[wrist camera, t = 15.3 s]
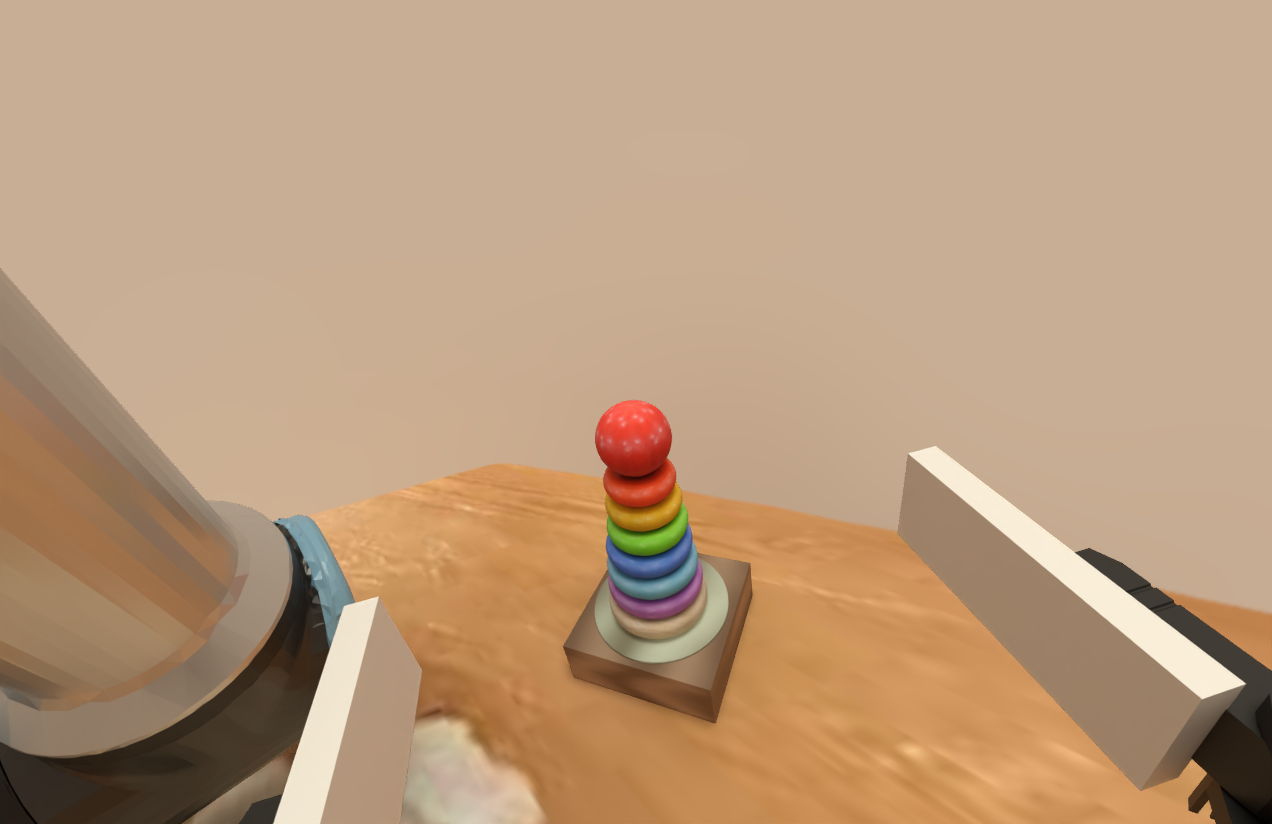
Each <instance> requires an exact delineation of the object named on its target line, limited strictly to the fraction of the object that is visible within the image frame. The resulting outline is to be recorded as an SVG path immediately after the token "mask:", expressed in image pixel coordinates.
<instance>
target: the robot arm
mask: <svg viewBox="0 0 1272 824" xmlns="http://www.w3.org/2000/svg"><path fill="white" fill-rule="evenodd" d="M898 535H899V536H900V537H901V538H902V539H903V540H904V541H905V542H906V543H907V544H908V545H909V546H910V547H911V548H912V550H913V551H914V552H915V553H916V554H917V555H918V556H919V557H920V558H921V559H922V560H923V561H924V562H925V563H926V564H927V565H928V566H929V568H930V569H931V570H932V571H933V572H934V573H935V574H936V575H937V576H938V577H939V578H940V579H941V580H942V581H943V582H944V583H945V585H946V586H947V587H948V588H949V589H950V590H951V591H952V592H953V593H954V594H955V595H956V596H957V597H958V598H959V599H960V600H961V602H962V603H963V604H964V605H965V606H966V607H967V608H968V609H969V610H970V611H971V612H972V613H973V614H974V615H975V616H976V617H977V618H978V620H979V621H980V622H981V623H982V624H983V625H984V626H985V627H986V628H987V629H988V630H989V631H990V632H991V633H992V634H993V635H994V637H995V638H996V639H997V640H998V641H999V642H1000V643H1001V644H1002V645H1003V646H1004V647H1005V648H1006V649H1007V650H1008V651H1009V652H1010V653H1011V655H1012V656H1013V657H1014V658H1015V659H1016V660H1017V661H1018V662H1019V663H1020V664H1021V665H1022V666H1023V667H1024V668H1025V669H1026V670H1027V672H1028V673H1029V674H1030V675H1031V676H1032V677H1033V678H1034V679H1035V680H1036V681H1037V682H1038V683H1039V684H1040V685H1041V686H1042V687H1043V689H1044V690H1045V691H1046V692H1047V693H1048V694H1049V695H1050V696H1051V697H1052V698H1053V699H1054V700H1055V701H1056V702H1057V703H1058V704H1059V705H1060V707H1061V708H1062V709H1063V710H1064V711H1065V712H1066V713H1067V714H1068V715H1069V716H1070V717H1071V718H1072V719H1073V720H1074V721H1075V722H1076V724H1077V725H1078V726H1079V727H1080V728H1081V729H1082V730H1083V731H1084V732H1085V733H1086V734H1087V735H1088V736H1089V737H1090V738H1091V739H1092V740H1093V742H1094V743H1095V744H1096V745H1097V746H1098V747H1099V748H1100V749H1101V750H1102V751H1103V752H1104V753H1105V754H1106V755H1107V756H1108V757H1109V759H1110V760H1111V761H1112V762H1113V763H1114V764H1115V765H1116V766H1117V767H1118V768H1119V769H1120V770H1121V771H1122V772H1123V773H1124V774H1125V775H1126V777H1127V778H1128V779H1129V780H1130V781H1131V782H1132V783H1133V784H1134V785H1135V786H1136V787H1137V788H1138V789H1139V790H1140V791H1142V790H1145V789H1147V788H1150V787H1153V786H1156V785H1158V784H1161V783H1164V782H1167V781H1169V780H1172V779H1175V778H1178V777H1179V776H1180V774H1181V773H1182V771H1183V770H1184V769H1185V767H1186V766H1187V765H1188V763H1189V762H1190V760H1191V759H1193V760H1194V761H1195V762H1196V763H1197V764H1198V765H1199V766H1200V767H1201V768H1203V769H1204V770H1205V771H1206V772H1207V775H1206V776H1205V777H1204V778H1203V780H1202V781H1201V782H1200V784H1199V785H1198V786H1197V787H1196V789H1195V790H1194V791H1193V793H1192V794H1191V795H1190V796H1189V798H1188V803H1189V811H1191V812H1194V813H1198V812H1199V811H1200V810H1201V809H1202V807H1203V806H1204V805H1205V804H1206V802H1207V801H1208V800H1209V802H1210V805H1211V809H1212V812H1211V814H1210V818H1211V819H1214V820H1215V822H1216V824H1272V671H1271V670H1270V669H1268V668H1267V667H1265V666H1264V665H1263V664H1261V663H1260V662H1258V661H1257V660H1256V659H1254V658H1253V657H1251V656H1250V655H1249V654H1247V653H1246V652H1245V651H1243V650H1242V649H1240V648H1239V647H1238V646H1236V645H1235V644H1233V643H1232V642H1231V641H1229V640H1228V639H1227V638H1225V637H1224V636H1222V635H1221V634H1220V633H1218V632H1217V631H1216V630H1214V629H1213V628H1211V627H1210V626H1209V625H1207V624H1206V623H1204V622H1203V621H1202V620H1200V619H1199V618H1198V617H1196V616H1195V615H1193V614H1192V613H1191V612H1189V611H1188V610H1186V609H1185V608H1184V607H1182V606H1181V605H1176V604H1175V603H1174V600H1173V599H1171V598H1170V597H1168V596H1167V595H1166V594H1164V593H1163V592H1162V591H1160V590H1159V589H1157V588H1153V587H1152V586H1151V584H1150V583H1149V582H1148V581H1146V580H1145V579H1144V578H1142V577H1141V576H1139V575H1138V574H1136V573H1135V572H1134V571H1133V570H1131V569H1130V568H1128V567H1127V566H1126V565H1124V564H1123V563H1121V562H1119V561H1116V560H1114V559H1112V558H1110V557H1108V556H1105V555H1103V554H1101V553H1099V552H1096V551H1094V550H1092V549H1090V548H1088V549H1085V550H1081V551H1078V552H1073V551H1072V550H1070V549H1069V548H1068V547H1067V546H1065V545H1064V544H1062V543H1061V542H1060V541H1059V540H1058V539H1056V538H1055V537H1054V536H1052V535H1051V534H1050V533H1048V532H1047V531H1046V530H1044V529H1043V528H1042V527H1040V526H1039V525H1038V524H1037V523H1035V522H1034V521H1033V520H1031V519H1030V518H1029V517H1027V516H1026V515H1025V514H1024V513H1022V512H1021V511H1020V510H1018V509H1017V508H1016V507H1014V506H1013V505H1012V504H1010V503H1009V502H1008V501H1007V500H1005V499H1004V498H1003V497H1001V496H1000V495H999V494H997V493H996V492H995V491H993V490H992V489H991V488H990V487H988V486H987V485H986V484H984V483H983V482H982V481H980V480H979V479H978V478H976V477H975V476H974V475H973V474H971V473H970V472H969V471H967V470H966V469H965V468H963V467H962V466H961V465H960V464H958V463H957V462H956V461H954V460H953V459H952V458H950V457H949V456H948V455H946V454H945V453H944V452H942V451H941V450H940V449H939V448H937V447H936V446H934V447H931V448H927V449H923V450H920V451H916V452H912V453H908V458H907V466H906V473H905V482H904V488H903V496H902V503H901V512H900V518H899V526H898ZM421 675H422V669H421V667H420V666H419V664H418V662H417V661H416V659H415V657H414V655H413V654H412V652H411V650H410V649H409V647H408V645H407V644H406V642H405V640H404V638H403V637H402V635H401V633H400V632H399V630H398V628H397V627H396V625H395V623H394V622H393V620H392V618H391V616H390V615H389V613H388V611H387V610H386V608H385V606H384V605H383V603H382V601H381V599H380V598H379V597H375V598H372V599H368V600H364V601H361V602H357V603H356V602H355V600H354V598H353V595H352V592H351V590H350V587H349V585H348V583H347V581H346V579H345V577H344V575H343V572H342V570H341V568H340V566H339V564H338V562H337V560H336V558H335V556H334V554H333V552H332V551H331V549H330V547H329V545H328V543H327V541H326V539H325V538H324V536H323V534H322V532H321V531H320V529H319V528H318V526H317V524H316V523H315V522H314V521H313V520H312V519H311V518H310V517H308V516H302V515H297V516H293V517H291V518H288V519H278V520H277V521H274V522H272V521H270V520H269V519H268V518H267V517H266V516H264V515H263V514H261V513H260V512H258V511H256V510H254V509H252V508H250V507H246V506H243V505H240V504H235V503H230V502H224V501H206V500H205V499H204V498H203V497H202V496H201V495H200V493H199V492H198V491H197V490H196V489H195V488H194V487H193V486H192V484H191V483H190V482H189V481H188V480H187V479H186V478H185V476H184V475H183V474H182V473H181V472H180V471H179V470H178V469H177V467H176V466H175V465H174V464H173V463H172V462H171V461H170V459H169V458H168V457H167V456H166V455H165V454H164V453H163V452H162V451H161V449H159V447H158V446H157V445H156V444H155V443H154V441H153V440H152V439H151V438H150V437H149V436H148V435H147V433H146V432H145V431H144V430H143V429H142V428H141V427H140V426H139V425H138V423H137V422H136V421H135V420H134V419H133V418H132V417H131V415H130V414H129V413H128V412H127V411H126V410H125V409H124V408H123V406H122V405H121V404H120V403H119V402H118V401H117V400H116V398H115V397H114V396H113V395H112V394H111V393H110V392H109V390H108V389H107V388H106V387H105V386H104V385H103V384H102V383H101V382H100V380H99V379H98V378H97V377H96V376H95V375H94V374H93V372H92V371H91V370H90V369H89V368H88V367H87V366H86V364H85V363H84V362H83V361H82V360H81V359H80V358H79V357H78V356H77V354H76V353H75V352H74V351H73V350H72V349H71V348H70V347H69V345H68V344H67V343H66V342H65V341H64V340H63V338H62V337H61V336H60V335H59V334H58V333H57V332H56V331H55V329H53V327H52V326H51V325H50V324H49V323H48V322H47V320H46V319H45V318H44V317H43V316H42V315H41V314H40V312H39V311H38V310H37V309H36V308H35V307H34V306H33V305H32V304H31V302H30V301H29V300H28V299H27V298H26V297H25V295H24V294H23V293H21V291H20V290H19V289H18V288H17V286H16V285H15V284H14V283H13V282H12V281H11V280H10V279H9V277H8V276H7V275H6V274H5V273H4V272H3V271H2V269H1V268H0V824H181V823H183V822H184V821H186V820H187V819H188V818H190V817H191V816H193V815H194V814H196V813H197V812H199V811H200V810H202V809H203V808H204V807H206V806H207V805H209V804H210V803H212V802H213V801H215V800H216V799H217V798H219V797H220V796H222V795H223V794H225V793H226V792H228V791H229V790H231V789H232V788H233V787H235V786H236V785H238V784H239V783H241V782H242V781H244V780H245V779H246V778H248V777H249V776H251V775H252V774H254V773H255V772H257V771H258V770H260V769H261V768H262V767H264V766H265V765H267V764H268V763H270V762H271V761H273V760H274V759H275V758H277V757H278V756H280V755H281V754H283V753H284V752H286V751H287V750H288V749H290V748H291V747H293V746H294V745H296V744H297V743H299V742H300V743H299V746H298V749H297V752H296V755H295V759H294V762H293V765H292V768H291V771H290V774H289V777H288V780H287V783H286V786H285V789H284V792H283V794H282V795H278V796H275V797H272V798H268V799H265V800H262V801H259V802H255V803H253V804H252V805H251V807H250V808H249V810H248V811H247V813H246V814H245V816H244V817H243V819H242V820H241V822H240V823H239V824H400V818H401V811H402V805H403V798H404V791H405V784H406V777H407V770H408V764H409V757H410V750H411V743H412V736H413V729H414V723H415V716H416V709H417V702H418V695H419V688H420V682H421Z"/></svg>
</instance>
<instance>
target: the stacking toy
mask: <svg viewBox="0 0 1272 824" xmlns="http://www.w3.org/2000/svg"><path fill="white" fill-rule="evenodd" d="M671 442H672V434H671V429H670V426H669V423H668V421H667V419H666V417H665V416H664V415H663V413H662V412H661V411H660V410H659V409H658V408H656V407H655V406H653V405H651V404H649V403H646V402H643V401H638V400H629V401H624V402H621V403H618V404H616V405H614V406H613V407H611V408H610V409H608V410H607V411H606V412H605V413H604V415H603V416H602V417H601V419H600V421H599V423H598V426H597V428H596V434H595V443H596V448H597V451H598V454H599V456H600V457H601V459H602V461H603V462H604V463H605V464H606V465H607V466H608V467H607V469H606V471H605V474H604V478H603V483H604V488H605V490H606V492H607V495H606V499H605V506H606V510H607V513H608V518H607V531H608V536H607V540H606V550H607V554H608V559H607V567H608V572H609V577H608V585H609V589H610V606H611V610H612V613H613V615H614V617H615V619H616V620H617V621H618V623H619V624H620V625H621V626H622V627H623V628H624V629H626V630H627V631H629V632H630V633H632V634H634V635H636V636H639V637H643V638H647V639H666V638H670V637H673V636H676V635H679V634H681V633H683V632H684V631H686V630H688V629H689V628H690V627H691V626H693V625H694V624H695V623H696V622H697V620H698V619H699V618H700V616H701V615H702V613H703V611H704V608H705V606H706V602H707V586H706V582H705V579H704V577H703V570H702V566H701V563H700V561H699V558H698V553H697V549H696V546H695V544H694V542H693V541H692V532H691V529H690V526H689V524H688V514H687V510H686V507H685V506H684V504H683V503H682V493H681V489H680V487H679V485H678V484H677V482H676V471H675V468H674V466H673V464H672V463H671V462H670V461H669V459H667V456H668V454H669V451H670V447H671Z"/></svg>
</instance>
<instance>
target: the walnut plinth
mask: <svg viewBox="0 0 1272 824" xmlns="http://www.w3.org/2000/svg"><path fill="white" fill-rule="evenodd" d="M698 558H699V561H700V563H701V566H702V570H703V577H704V579H705V582H706V586H707V602H706V606H705V608H704V611H703V613H702V615H701V616H700V618H699V619H698V620H697V622H696V623H695V624H694V625H693V626H691V627H690V628H689V629H688V630H686V631H684V632H683V633H681V634H679V635H676V636H673V637H670V638H666V639H647V638H643V637H639V636H636V635H634V634H632V633H630V632H629V631H627V630H626V629H624V628H623V627H622V626H621V625H620V624H619V623H618V621H617V620H616V619H615V617H614V615H613V613H612V610H611V606H610V589H609V585H608V577H609V572H608V570H607V571H606V573H605V575H604V576H603V578H602V580H601V582H600V583H599V585H598V587H597V589H596V590H595V592H594V594H593V595H592V597H591V599H590V601H589V602H588V604H587V606H586V608H585V609H584V611H583V613H582V614H581V616H580V618H579V620H578V621H577V623H576V625H575V627H574V628H573V630H572V632H571V633H570V635H569V637H568V639H567V640H566V642H565V644H564V646H563V647H564V650H565V653H566V656H567V659H568V661H569V664H570V667H571V670H572V672H573V675H574V677H576V678H579V679H582V680H585V681H588V682H591V683H594V684H597V685H600V686H603V687H606V688H609V689H612V690H615V691H619V692H622V693H625V694H628V695H631V696H634V697H637V698H640V699H643V700H646V701H649V702H652V703H655V704H658V705H662V706H665V707H668V708H671V709H674V710H677V711H680V712H683V713H686V714H689V715H692V716H695V717H698V718H701V719H705V720H708V721H711V722H714V723H716V720H717V716H718V713H719V709H720V706H721V702H722V699H723V695H724V692H725V688H726V685H727V681H728V678H729V675H730V671H731V668H732V664H733V661H734V657H735V654H736V650H737V647H738V643H739V640H740V636H741V633H742V629H743V626H744V622H745V619H746V615H747V612H748V609H749V605H750V602H751V598H752V582H751V568H750V563H746V562H741V561H736V560H731V559H726V558H721V557H715V556H710V555H705V554H700V553H698Z"/></svg>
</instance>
